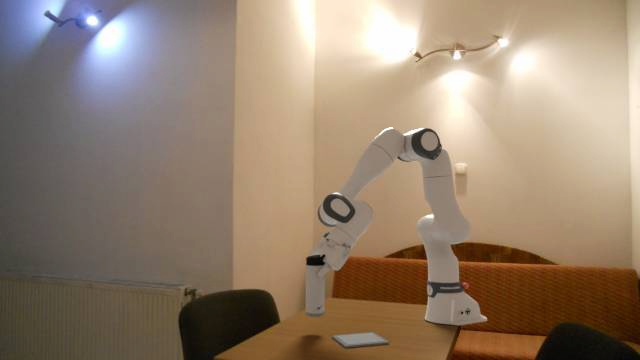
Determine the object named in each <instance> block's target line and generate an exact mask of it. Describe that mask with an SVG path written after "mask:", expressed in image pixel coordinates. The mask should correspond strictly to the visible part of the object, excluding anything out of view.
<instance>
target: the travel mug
mask: <svg viewBox="0 0 640 360" xmlns="http://www.w3.org/2000/svg"><path fill="white" fill-rule="evenodd" d="M324 257H325V254H323V255H322V256H320V255H313V256H310V255H309V256H307V257H306V258H305V315H306V316H307V317H310V318H319V317H323V316H324V315H325V299H326V298H325V285H326V284H325V282H326V281H325V277H326V276H325V275H326V273H325V274H324V275H323V276H322V277H319V276H317V275H316V273H317V272H318V270H320V269H322V268H323V267H324V265H325V263H324V262H323V258H324Z"/></svg>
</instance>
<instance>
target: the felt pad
mask: <svg viewBox="0 0 640 360" xmlns="http://www.w3.org/2000/svg"><path fill="white" fill-rule="evenodd" d="M331 336H332V337H331V338H332V339H333V340H334V341H336V342H337V343H338V344H339V345H341V346H342V347H343V348H344V349H350V348H351V349H352V348H359V347H370V346H372V345H373V346H381V345H389V344H390V341H388V340H386V339H385V338H384V337H382V336H380V335H379V334H377V333H375V332H373V331H370V332H359V333H348V334H336V335H331Z"/></svg>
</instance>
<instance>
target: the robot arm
mask: <svg viewBox="0 0 640 360" xmlns="http://www.w3.org/2000/svg"><path fill="white" fill-rule="evenodd" d="M397 159H398V160H399V161H401V162H403V163H404V162H407V163H410V162H416V161H418V162H419V164H420V166H421V169H422V172H421V173H422V174H421V175H422V186H423V196H424V201H426V202H427V204H428V205H429V208H430V209H431V212H432V213H431V214H427V215H424V216H422V217H421V218H420V219H419V220H418V221H417V223H416V226H415V229H416V233H417V235H418V237H419V238H420V240H421V241H422V243H423V247H424V250H425V255H426V261H427V277H428V278H427V281H426V284H427V285H426V293H427V304H426V305H427V306H426V312H425V316H424V320H425V321H427V322H430V323H434V324H441V325H442V324H443V325H452V326H466V325H472V324H477V323H485V322H487V321H488V318H487V316H485V315H483V314H481V309H480V305H479V303H478V302H477V301H476V300H475V299H473V298H472V297H471V296H470V295H469V294H467V293H466V292H465V290H466V289H469V288H470V284H469V283H468V282H462V281H460V271H459V270H460V269H459V268H460V267H459V259H458V257H457V256H456V255H455V254H454V250H453V249H452V246H451V245H458V244H462V243H464V242H466V241H467V240H468V239H469V238H470V237H471V236H470V235H471V232H472V228H471V223H470V222H469V220H468V218H466V217H465V216H464V215H463V213H462V210H461V209H460V206H459V204H458V202H457V198H456V192H455V185H454V174H453V167H452V162H451V159H450V156H449V153H448V151H447V150H446V149H445V148H443V145H442V142H441V139H440V137H439V134H438V133H437V132H436V130H434V129H432V128H428V127H420V128H418V129H414V130H410V131H408V132H407V133H404V134H403V133H402V132H400V131H399V130H398V129H396V128H393V127H388V128H385V129H384V130H382V131H381V132H380V133H378V134H377V135H376V136H375V137H374V138H373V139H372V140H371V141H370V142H369V143H368V145H367V146H366V147H365V148H364V150H363V151H362V153H361V155H360V157H359V158H358V159H357V161H356V165H355V166H354V168H353V171H352V172H351V175H350V176H349V178H348V179H347V180H346V182H345V183H344V185H342V187H341V188H340V189H339V190H338V192H332V193H329V194H328V195H327V196H325V198H324V200H323V201H322V203H321V204H320V205H319V206H318V209H317V217H318V220H319V222H320V223H321V224H322V225H324V226H326V227H328V228H334V229H333V230H331V231H328V232H325V233H323V235H321V238H322V239H320V241H318V242H317V244H316V245H315V246H314V248H313V249H312V250H311V253H310V255H309V256H313V255H320V256H322V255H323V254H325V257H324V258H323V262H324V263H325V265H324V267H323V268H322V269H320V270H318V272H317V273H316V275H317V276H319V277H322V276H323V275H324V274H325V275H326V273H328V272H330V271H331V269H332V270H334V271H339V270H341V269H342V267H343V266H344V265H345V264H346V262H347V261H348V259H349V258H350V256H351V251H352V249H353V247H354V246H355V245H356V244H357V242H358V240H359V238H361V237H362V236H363V235H364V234H365V232H367V230H368V229H369V228H370V226H371V225H372V223H373V222H374V219H375V213H374V212H375V211H373V209H372V207H371V206H370V205H369V204H368V203H367V202H365V201H364V200H356V197H358V195H359V194H360V193H361V192H362V191H363V190H364V188H366V187H367V186H368V185H370V184H371V183H372V182H374V181H376V180H377V179H378V178H379V177H380V176H382V175H383V174H384V173H385V172H386V171H387V170H389V168H390V167H391V166H392V165H393V164H394V162H395V161H396V160H397ZM464 289H465V290H464Z"/></svg>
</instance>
